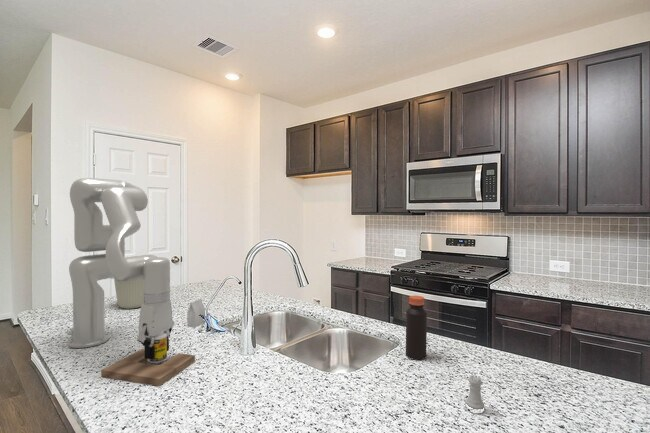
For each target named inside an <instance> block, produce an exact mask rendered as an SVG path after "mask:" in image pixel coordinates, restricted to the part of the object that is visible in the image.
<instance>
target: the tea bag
mask: <svg viewBox="0 0 650 433" xmlns="http://www.w3.org/2000/svg"><path fill="white" fill-rule="evenodd" d="M202 300H203V299H202V298H200V299H197V300H195V301H192V302H190V303H189V304H190V305H189V308H188V310H187V320H186V321H187V323H186V324H187V327H189V328H197V327H199V326H200V325H202V324H204V323H205V322H204V320H203V318H202V317H201V316H199V315H200V314H201V315H205V316H206V307H205V305H204V303H203V301H202ZM203 322H204V323H203Z"/></svg>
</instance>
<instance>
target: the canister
mask: <svg viewBox="0 0 650 433" xmlns="http://www.w3.org/2000/svg"><path fill="white" fill-rule="evenodd" d="M113 281H114V288H115V297H116V302H117V305H118V307H120V308H121V309H127V310H128V309H129V310H132V309H137V308H141V306H142V304H143V279H138V280H133V281H128V282H119V281H117V280H115V278H113Z"/></svg>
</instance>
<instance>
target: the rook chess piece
mask: <svg viewBox="0 0 650 433" xmlns="http://www.w3.org/2000/svg"><path fill="white" fill-rule="evenodd" d="M468 382H469V384H470V385H468V386H469V395H468V396H467V399H466V400H465V405H466V404H467V405H468V406H469V407H471V408H473V409H483V408H484V409H485V403H484V402H483V399H482V393H481V391H482V387H481V386H482V384H483V381H482V378H481V377H480V376H478V375H476V374H475V375H470V376H469V378H468Z"/></svg>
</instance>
